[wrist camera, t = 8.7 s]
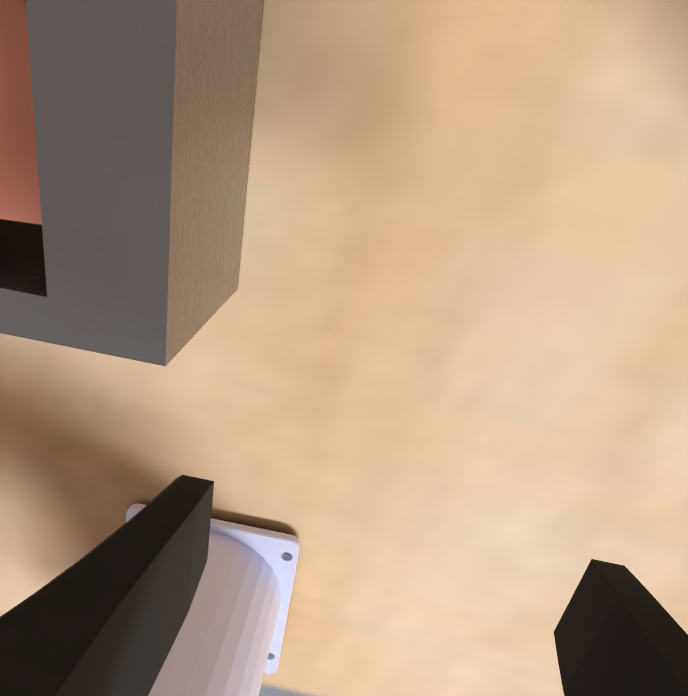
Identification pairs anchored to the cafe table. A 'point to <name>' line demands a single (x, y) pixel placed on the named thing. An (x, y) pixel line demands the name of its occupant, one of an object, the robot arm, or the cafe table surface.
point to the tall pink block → (17, 119)
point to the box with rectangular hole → (133, 173)
